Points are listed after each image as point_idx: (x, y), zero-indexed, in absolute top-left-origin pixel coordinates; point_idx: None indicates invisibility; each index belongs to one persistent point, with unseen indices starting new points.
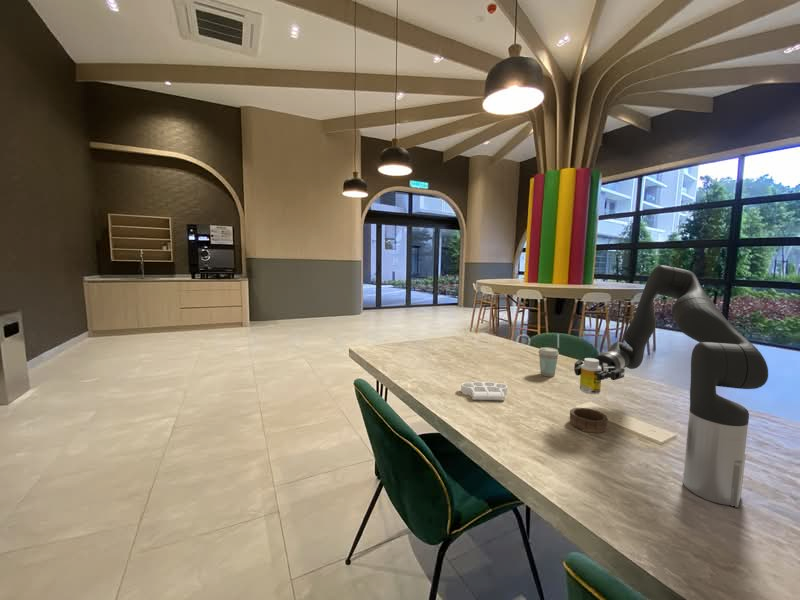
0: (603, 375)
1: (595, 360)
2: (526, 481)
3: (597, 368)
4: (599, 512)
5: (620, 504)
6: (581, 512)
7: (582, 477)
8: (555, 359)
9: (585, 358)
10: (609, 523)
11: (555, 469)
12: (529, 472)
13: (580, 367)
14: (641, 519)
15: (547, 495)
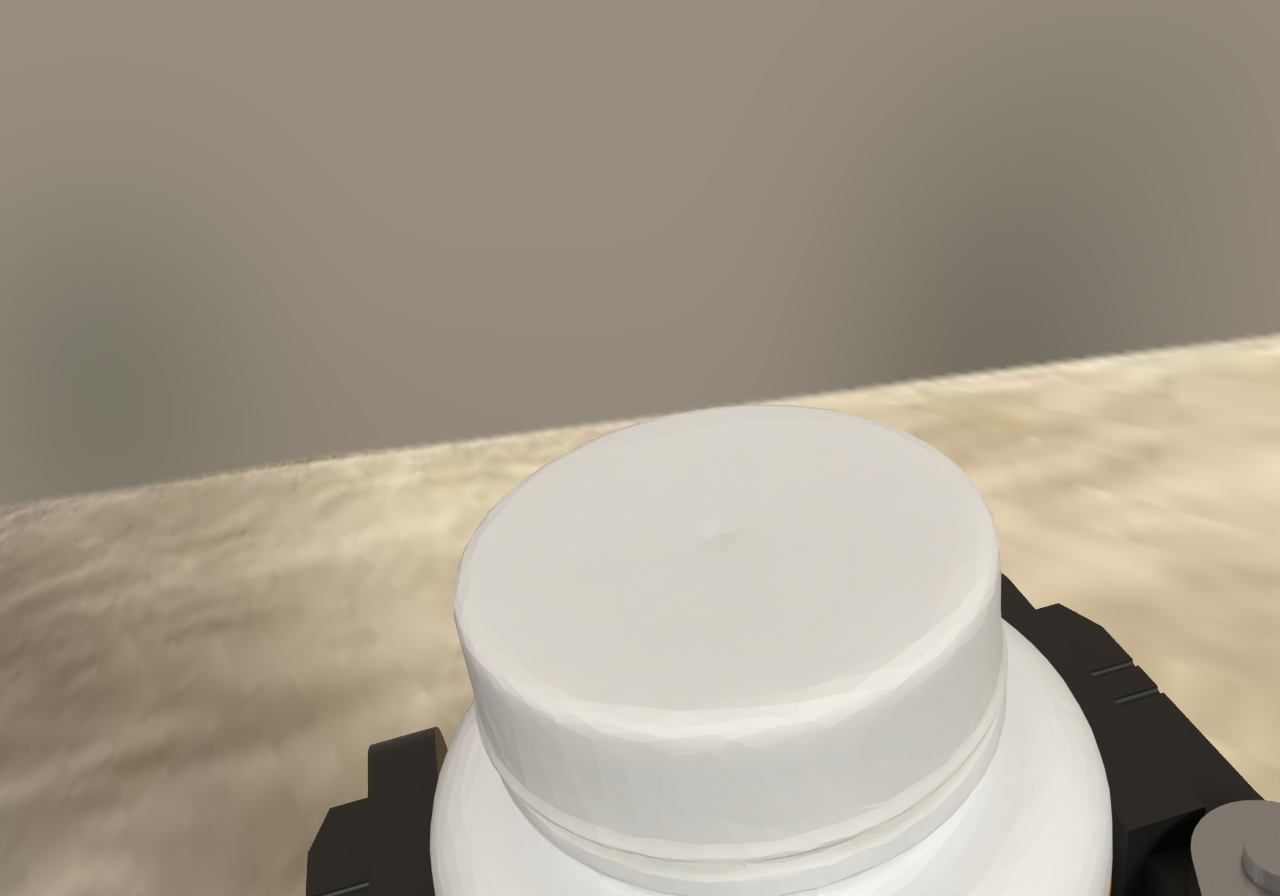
0: (316, 842)
1: (568, 574)
2: (493, 440)
3: (470, 707)
4: (177, 547)
5: (108, 642)
6: (235, 500)
7: (328, 634)
8: None
9: (944, 473)
10: (129, 540)
11: None
12: (531, 472)
13: None
14: (13, 645)
15: (380, 459)
